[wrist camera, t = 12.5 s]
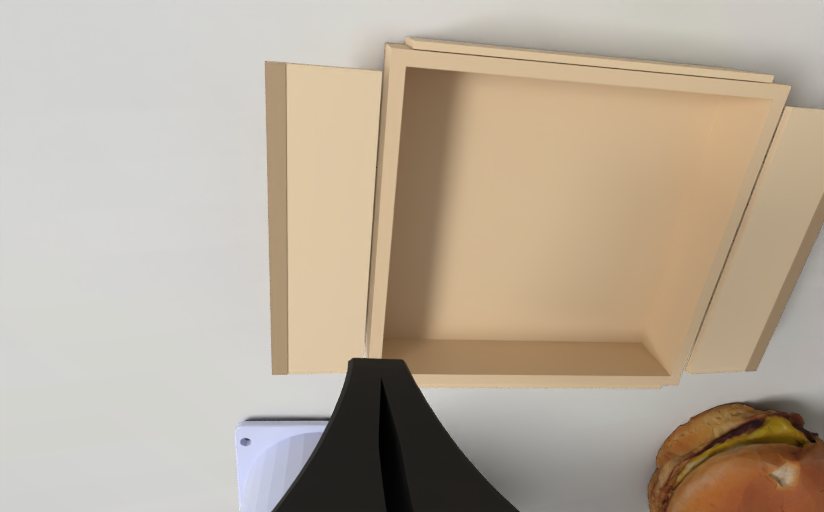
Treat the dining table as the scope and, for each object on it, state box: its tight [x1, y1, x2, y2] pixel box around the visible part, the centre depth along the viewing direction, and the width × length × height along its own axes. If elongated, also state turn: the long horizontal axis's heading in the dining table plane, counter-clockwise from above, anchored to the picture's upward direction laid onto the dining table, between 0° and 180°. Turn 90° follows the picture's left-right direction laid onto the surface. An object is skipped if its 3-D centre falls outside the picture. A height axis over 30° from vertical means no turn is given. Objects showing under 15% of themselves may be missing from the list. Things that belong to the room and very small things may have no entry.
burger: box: [648, 403, 824, 512], centre depth 29 cm, size 10×9×5 cm
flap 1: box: [265, 61, 382, 375], centre depth 19 cm, size 12×1×4 cm
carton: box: [365, 37, 792, 389], centre depth 21 cm, size 14×14×3 cm
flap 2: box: [685, 106, 824, 374], centre depth 21 cm, size 12×1×4 cm
